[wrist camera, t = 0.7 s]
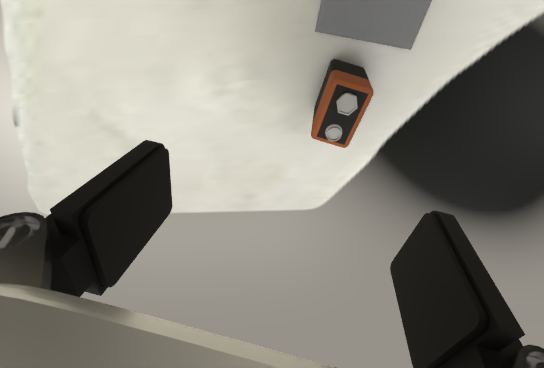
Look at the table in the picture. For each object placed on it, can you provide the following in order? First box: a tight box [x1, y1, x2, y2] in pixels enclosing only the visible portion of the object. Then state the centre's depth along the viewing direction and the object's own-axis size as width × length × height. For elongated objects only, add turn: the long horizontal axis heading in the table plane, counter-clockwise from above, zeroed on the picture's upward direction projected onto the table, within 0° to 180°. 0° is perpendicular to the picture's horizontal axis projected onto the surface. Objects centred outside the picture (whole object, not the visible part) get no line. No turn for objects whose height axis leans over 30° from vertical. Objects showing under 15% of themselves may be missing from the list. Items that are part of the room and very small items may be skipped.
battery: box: [311, 59, 373, 148], centre depth 30 cm, size 4×7×10 cm, turn 166°
